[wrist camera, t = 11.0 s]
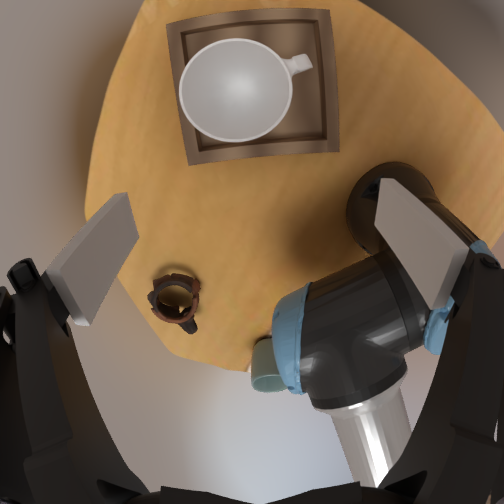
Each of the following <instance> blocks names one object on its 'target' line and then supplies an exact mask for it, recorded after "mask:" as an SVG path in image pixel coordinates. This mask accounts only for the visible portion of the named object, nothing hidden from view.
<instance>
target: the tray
mask: <svg viewBox="0 0 504 504" xmlns="http://www.w3.org/2000/svg"><path fill="white" fill-rule="evenodd" d="M166 29H167V37H168V45H169V53H170V60H171V67H172V74H173V80H174V87H175V93H176V99H177V105H178V111H179V117H180V123H181V128H182V134H183V139H184V144H185V150H186V155H187V160H188V165H189V166H191V165H197V164H204V163H211V162H218V161H226V160H234V159H242V158H252V157H262V156H273V155H286V154H302V153H323V152H339V108H338V88H337V73H336V61H335V50H334V41H333V32H332V24H331V17H330V10H326V9H309V8H271V9H254V10H242V11H233V12H225V13H218V14H212V15H206V16H201V17H195V18H190V19H186V20H181V21H177V22H173V23H169V24H166ZM232 38H241V39H249V40H253V41H256V42H259V43H261V44H263V45H265V46H267V47H269V48H270V49H272V50H273V51H274V52H275V53H276V54H278V55H279V57H280V58H283V59H292V57H294V56H297V55H301V54H306V55H307V56H308V58H309V59H310V61H311V63H312V66H313V68H311V69H308V70H305V71H303V72H300V73H297V74H295V75H293V76H292V79H291V80H292V89H293V90H292V99H291V103H290V106H289V109H288V111H287V113H286V115H285V116H284V118H283V119H282V120H281V122H280V123H279V124H278V125H277V126H276V127H275V128H274V129H272V130H271V131H270V132H268V133H267V134H265V135H263V136H261V137H259V138H256V139H253V140H250V141H244V142H225V141H220V140H216V139H214V138H211V137H209V136H207V135H205V134H203V133H202V132H200V131H199V130H198V129H196V128H195V127H194V126H193V125H192V124H191V122H190V121H189V120H188V119H187V117H186V115H185V114H184V112H183V109H182V107H181V103H180V98H179V84H180V79H181V76H182V73H183V71H184V69H185V67H186V65H187V64H188V62H189V61H190V60H191V59H192V57H193V56H194V55H195V54H196V53H198V52H199V51H200V50H201V49H203V48H204V47H206V46H208V45H210V44H212V43H214V42H217V41H220V40H225V39H232Z"/></svg>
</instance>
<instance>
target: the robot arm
mask: <svg viewBox="0 0 504 504" xmlns="http://www.w3.org/2000/svg"><path fill="white" fill-rule="evenodd" d="M346 217H347V224H348V227H349V230H350V232H351V234H352V235H353V237H354V239H355V241H356V242H357V243H358V245H359V246H360V247H361V248H362V249H364V250H365V251H366V252H368V253H370V254H372V256H370V257H368V258H366V259H364V260H361V261H359V262H357V263H355V264H353V265H351V266H349V267H346V268H344V269H342V270H340V271H338V272H336V273H333V274H331V275H329V276H327V277H324V278H322V279H320V280H318V281H315V282H309V283H307V284H306V285H305V286H304V287H302V288H300V289H298V290H296V291H294V292H292V293H290V294H288V295H286V296H284V297H283V298H282V299H281V300H280V301H279V302H278V303H277V305H276V307H275V309H274V313H273V319H272V343H273V350H274V355H275V360H276V364H277V368H278V371H279V374H280V376H281V379H282V381H283V383H284V384H285V385H286V386H287V388H288V390H289V391H290V392H291V393H293V394H300V395H302V394H304V393H306V392H307V393H308V395H309V397H310V400H311V402H312V405H313V407H314V409H316V410H318V411H320V412H324V413H327V414H329V415H331V417H332V420H333V423H334V426H335V429H336V431H337V434H338V437H339V439H340V442H341V445H342V448H343V451H344V453H345V456H346V459H347V462H348V465H349V468H350V471H351V473H352V476H353V479H354V482H353V483H348V484H343V485H339V486H333V487H327V488H320V489H313V490H310V491H307V492H304V493H301V494H298V495H295V496H292V497H288V498H285V499H282V500H278V501H275V502H270V503H267V504H504V269H502V268H501V266H500V263H499V262H498V260H497V259H496V258H495V256H494V255H493V254H492V252H491V251H490V250H489V248H488V247H487V245H486V243H485V242H484V241H482V240H480V239H479V238H478V237H477V236H476V235H475V234H474V233H473V232H472V231H471V230H470V229H469V228H468V227H467V226H466V225H465V224H464V223H462V222H461V221H460V220H459V219H458V218H457V217H456V216H455V215H454V214H453V213H451V212H450V211H449V210H448V209H447V208H446V207H444V206H443V205H442V204H441V203H440V201H439V199H438V198H437V196H436V195H435V192H434V190H433V187H432V185H431V184H430V182H429V180H428V179H427V178H426V177H425V176H424V175H423V174H422V173H421V172H419V171H418V170H416V169H415V168H413V167H412V166H410V165H407V164H404V163H399V162H391V163H385V164H382V165H379V166H377V167H375V168H373V169H372V170H370V171H369V172H367V173H366V174H365V175H364V176H363V177H362V178H361V179H360V180H359V181H358V183H357V184H356V186H355V187H354V189H353V191H352V193H351V195H350V197H349V200H348V204H347V211H346ZM138 239H139V235H138V231H137V228H136V224H135V221H134V217H133V213H132V209H131V206H130V202H129V198H128V194H127V192H125V193H119V194H115V195H114V196H112V197H111V198H110V199H109V200H108V201H107V202H106V203H105V204H104V205H103V206H102V207H101V208H100V209H99V210H98V211H97V212H96V213H95V214H94V215H93V216H92V217H91V219H90V220H89V221H88V222H87V223H86V224H85V225H84V226H83V227H82V228H81V229H80V230H79V231H78V233H77V234H76V235H75V236H74V237H73V238H72V239H71V240H70V241H69V243H68V244H67V245H66V246H65V247H64V249H62V251H61V252H60V253H59V254H58V255H57V257H56V258H55V259H54V260H53V261H52V263H51V264H50V265H49V267H48V268H47V269H46V270H45V272H44V273H43V274H42V276H40V275H39V273H38V271H37V269H36V267H35V265H34V263H33V261H32V259H31V258H26V259H23V260H21V261H19V262H18V263H16V264H15V265H14V266H13V267H12V268H11V269H10V270H9V271H8V274H7V277H8V279H9V281H10V283H11V284H12V286H13V288H14V289H15V291H16V294H13V295H10V294H9V292H8V291H7V289H6V287H4V286H2V287H0V504H252V503H247V502H243V501H238V500H234V499H230V498H227V497H223V496H219V495H216V494H212V493H209V492H202V491H192V490H184V489H178V488H171V487H166V486H161V491H158V492H152V493H150V492H149V491H148V489H147V488H146V487H145V485H144V484H143V482H142V481H141V480H140V479H139V478H138V477H137V476H136V475H135V474H134V473H133V472H132V471H131V470H130V469H129V468H128V466H127V465H126V463H125V462H124V460H123V458H122V456H121V455H120V453H119V451H118V449H117V447H116V445H115V444H114V442H113V440H112V438H111V436H110V434H109V432H108V430H107V428H106V425H105V423H104V421H103V419H102V417H101V414H100V412H99V410H98V408H97V405H96V403H95V400H94V398H93V396H92V393H91V390H90V388H89V385H88V382H87V380H86V377H85V374H84V371H83V368H82V366H81V362H80V359H79V356H78V353H77V350H76V347H75V343H74V339H73V336H72V332H71V328H70V326H69V324H68V323H67V321H66V320H67V318H68V316H69V314H70V315H71V317H72V319H73V320H74V322H75V323H76V325H85V326H90V325H91V323H92V321H93V319H94V317H95V315H96V313H97V311H98V309H99V307H100V305H101V303H102V302H103V299H104V298H105V296H106V294H107V292H108V290H109V288H110V287H111V285H112V283H113V281H114V279H115V277H116V276H117V274H118V272H119V270H120V269H121V267H122V265H123V263H124V262H125V260H126V258H127V257H128V255H129V253H130V252H131V250H132V248H133V247H134V245H135V243H136V242H137V240H138ZM3 331H4V332H5V334H6V335H7V336H8V337H9V339H10V343H9V344H8V343H7V342H6V341H5V339H4V338H3ZM422 345H424V346H425V348H426V349H427V350H428V351H430V352H431V353H432V354H436V355H440V358H439V362H438V365H437V368H436V372H435V375H434V378H433V381H432V384H431V387H430V390H429V393H428V396H427V398H426V401H425V403H424V406H423V408H422V411H421V414H420V416H419V418H418V421H417V423H416V426H415V428H414V430H413V432H411V428H410V424H409V420H408V416H407V412H406V408H405V404H404V401H403V397H402V394H401V390H400V385H401V383H402V382H403V380H404V378H405V376H406V374H407V371H408V368H407V365H406V362H405V359H404V354H406V353H408V352H410V351H412V350H414V349H416V348H418V347H420V346H422ZM497 419H498V425H497V442H495V440H494V432H495V427H496V423H497Z"/></svg>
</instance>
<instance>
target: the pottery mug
mask: <svg viewBox="0 0 504 504" xmlns="http://www.w3.org/2000/svg"><path fill="white" fill-rule="evenodd" d="M170 285H178V286H181V287H183V288H185V289H186V290H188V291H189V292H190V293H191V292H192V293H193V298H192V306H189V307H187V308H185V309H184V310H183V311H182V312H181V313H180V311H179V306H168V305H165V304H163V303H162V302H161V301H160V300H159V299H158V298H157V297H158V294H159V292H160V291H161V290H162V289H163V288H165V287H167V286H170ZM153 286H154V291H151V292H150V293H149V294H148V295H147V296H148V300H149V302H150V303H151V305H152V306H153V308H151V310H152V312H153V313H154V314H155V315H156V316H157V317H158V318H160V319H161V320H163V321H165V322H168V323H176V324H178V325H180V326H181V327H182V329H183V330H184V331H186V332H187V333H188V334H193V333H195V332H196V331H197V329H198V328H197V325H196V323H195V321H194V313H195V312H196V309H197V307H198V303H199V294H198V292H199V290H200V289H201V288H200V284H199V282H198V281H197V280H196V279H193V278H192V277H189V276H186V275H183V274H175V273H172V274H171V276H170V275H165V276H163V277H161V278H160V279H157V280H153Z"/></svg>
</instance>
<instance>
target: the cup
mask: <svg viewBox="0 0 504 504" xmlns="http://www.w3.org/2000/svg"><path fill="white" fill-rule="evenodd" d="M251 382H252V386H253V388H254V389H255V390H257V391H260V392H279V391H282V390H285V389H287V386H286V385H285V384H284V383H283V381H282V379H281V376H280V374H279V371H278V368H277V364H276V360H275V355H274V350H273V343H272V338H268V339H263V340H260V341H259V342H258V343H257V344H256V345H255V347H254V349H253V352H252V359H251Z"/></svg>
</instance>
